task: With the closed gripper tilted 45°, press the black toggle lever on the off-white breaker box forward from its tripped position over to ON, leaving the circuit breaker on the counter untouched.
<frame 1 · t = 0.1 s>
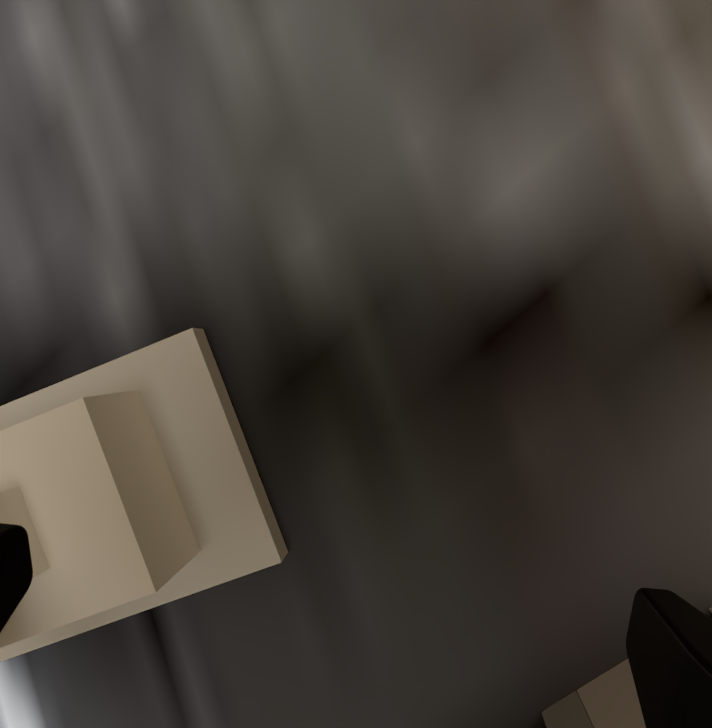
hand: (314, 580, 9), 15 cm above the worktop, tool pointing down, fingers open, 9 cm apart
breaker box: (58, 511, 25), on the worktop
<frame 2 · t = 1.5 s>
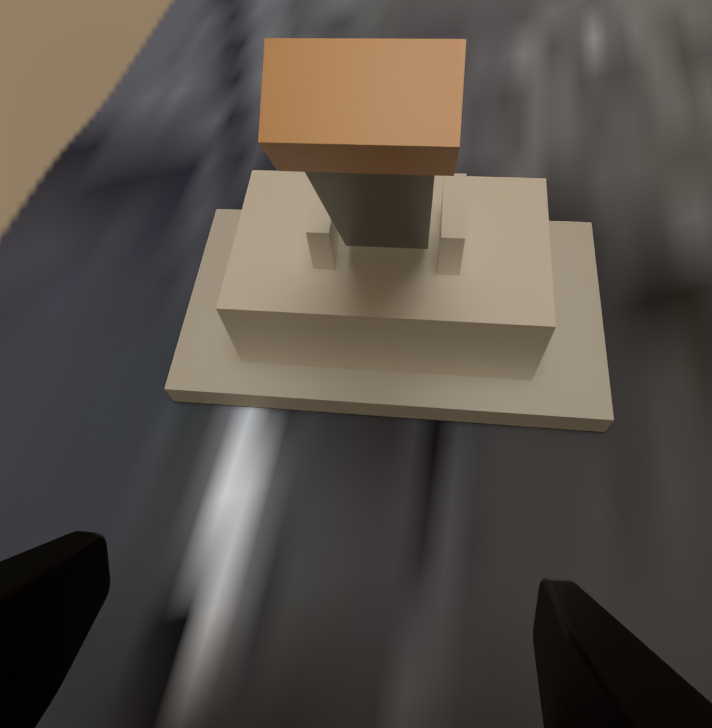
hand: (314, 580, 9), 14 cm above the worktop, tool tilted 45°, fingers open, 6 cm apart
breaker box: (390, 316, 27), on the worktop
lever: (378, 181, 16), point 11 cm above the worktop, hinge at -28.0°
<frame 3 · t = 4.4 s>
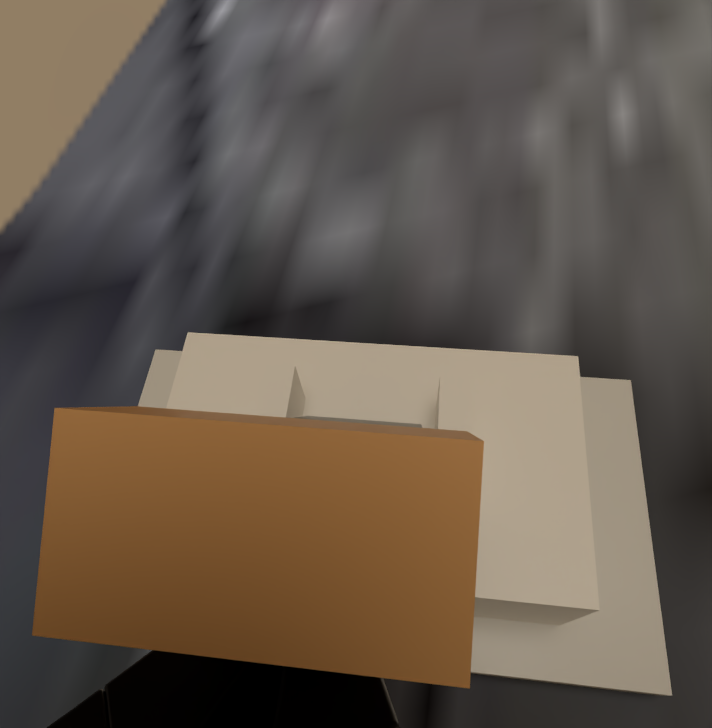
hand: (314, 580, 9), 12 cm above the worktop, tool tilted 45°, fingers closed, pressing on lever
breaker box: (371, 503, 21), on the worktop
lever: (334, 469, 10), point 11 cm above the worktop, hinge at -25.3°, touching gripper
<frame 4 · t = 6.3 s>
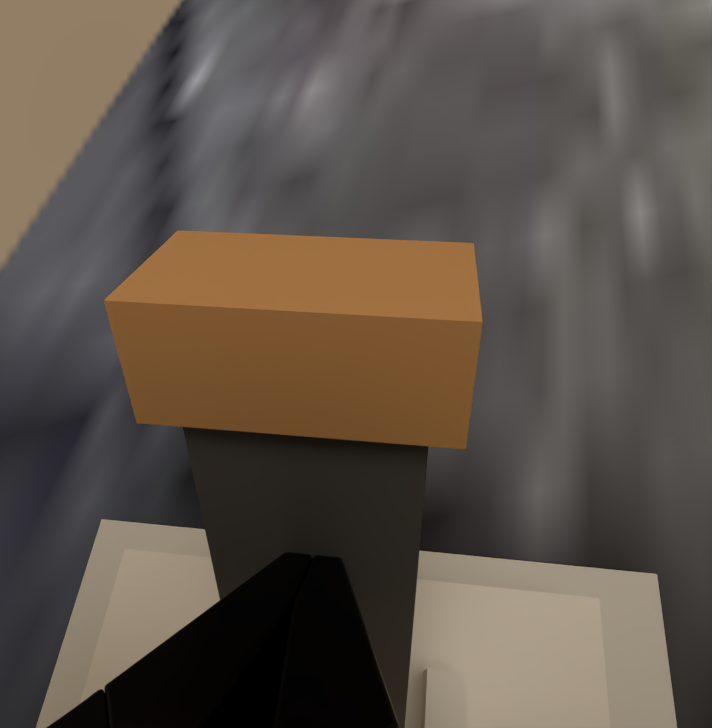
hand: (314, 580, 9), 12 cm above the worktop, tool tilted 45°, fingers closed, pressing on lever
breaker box: (350, 723, 18), on the worktop
lever: (322, 566, 9), point 11 cm above the worktop, hinge at 27.8°, touching gripper
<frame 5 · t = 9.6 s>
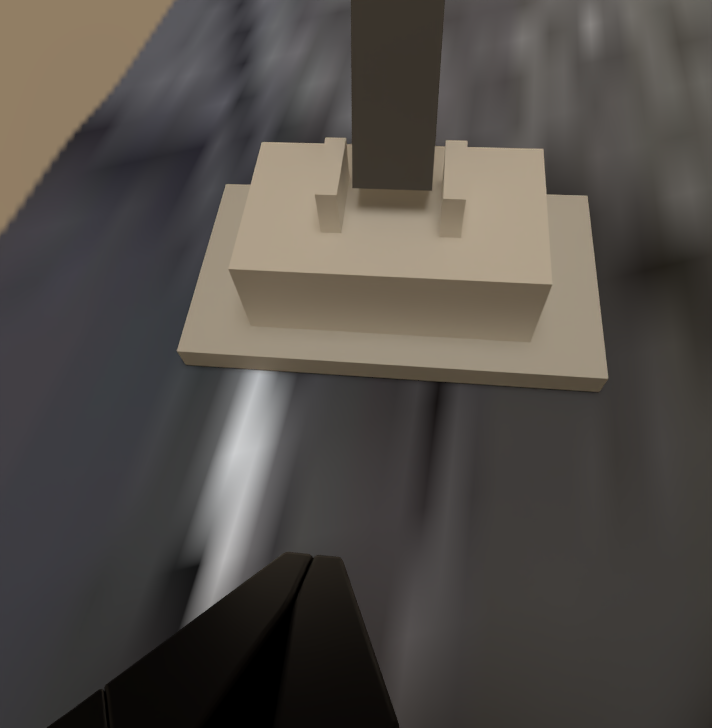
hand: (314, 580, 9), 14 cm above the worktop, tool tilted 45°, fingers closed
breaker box: (393, 285, 28), on the worktop
lever: (397, 29, 20), point 11 cm above the worktop, hinge at 28.0°
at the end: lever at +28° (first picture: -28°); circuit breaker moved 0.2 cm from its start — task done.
